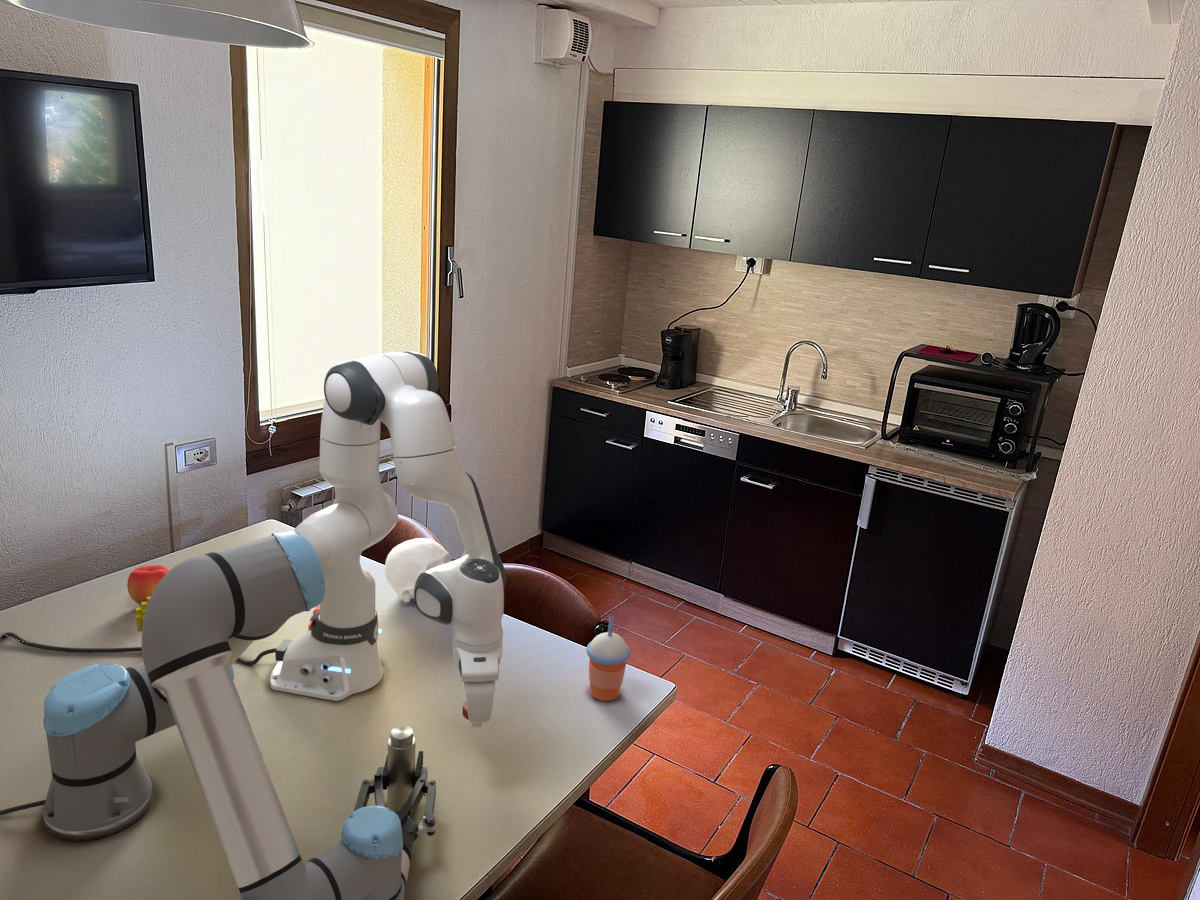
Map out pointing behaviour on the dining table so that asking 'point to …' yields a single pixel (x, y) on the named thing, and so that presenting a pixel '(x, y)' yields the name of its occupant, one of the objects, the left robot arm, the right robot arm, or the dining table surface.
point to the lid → (465, 710)
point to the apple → (145, 581)
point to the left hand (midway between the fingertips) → (405, 757)
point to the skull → (412, 564)
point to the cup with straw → (607, 664)
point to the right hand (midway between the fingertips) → (476, 714)
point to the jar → (400, 766)
